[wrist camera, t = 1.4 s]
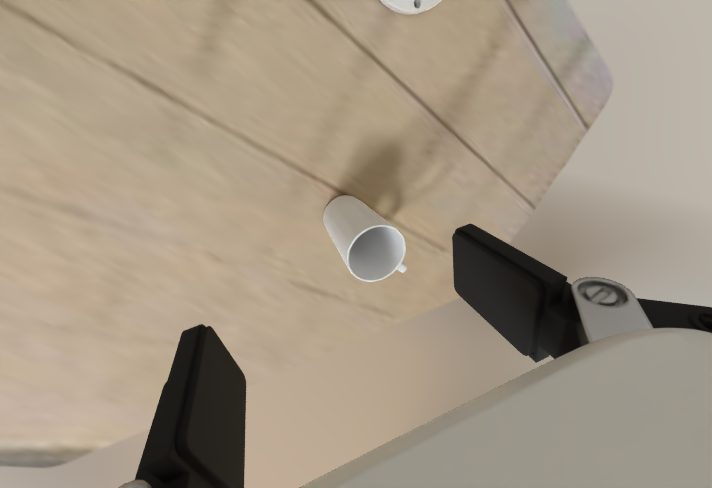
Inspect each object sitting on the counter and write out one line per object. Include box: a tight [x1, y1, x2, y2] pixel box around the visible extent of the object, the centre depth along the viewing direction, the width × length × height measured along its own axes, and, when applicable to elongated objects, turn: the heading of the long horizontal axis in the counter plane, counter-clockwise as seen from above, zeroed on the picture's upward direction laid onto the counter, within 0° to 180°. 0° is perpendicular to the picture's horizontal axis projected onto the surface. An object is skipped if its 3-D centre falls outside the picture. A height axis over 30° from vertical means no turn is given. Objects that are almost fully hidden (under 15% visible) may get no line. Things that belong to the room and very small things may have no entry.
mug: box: [323, 195, 407, 282], centre depth 35 cm, size 10×7×12 cm, turn 50°
